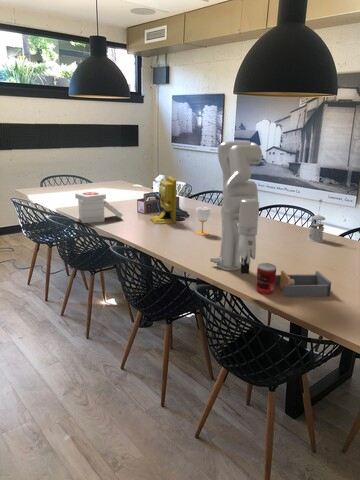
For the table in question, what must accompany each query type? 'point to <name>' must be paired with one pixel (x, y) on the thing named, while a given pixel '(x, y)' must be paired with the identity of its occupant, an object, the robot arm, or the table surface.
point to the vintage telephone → (167, 202)
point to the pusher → (285, 280)
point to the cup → (202, 218)
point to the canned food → (265, 278)
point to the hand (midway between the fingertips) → (244, 273)
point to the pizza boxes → (93, 207)
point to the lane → (306, 285)
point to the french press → (316, 233)
